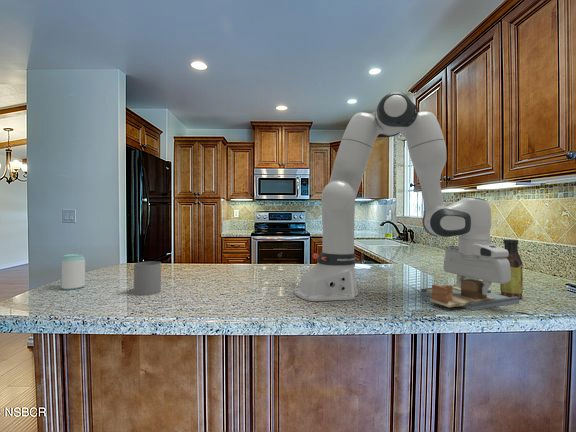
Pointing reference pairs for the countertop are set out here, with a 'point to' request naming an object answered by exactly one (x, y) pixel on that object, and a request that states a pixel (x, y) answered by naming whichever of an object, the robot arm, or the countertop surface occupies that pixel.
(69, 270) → the can
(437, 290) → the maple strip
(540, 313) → the countertop surface
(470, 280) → the walnut cube
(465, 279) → the sage block
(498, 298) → the lane board
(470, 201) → the robot arm
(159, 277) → the cup
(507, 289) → the sauce bottle
